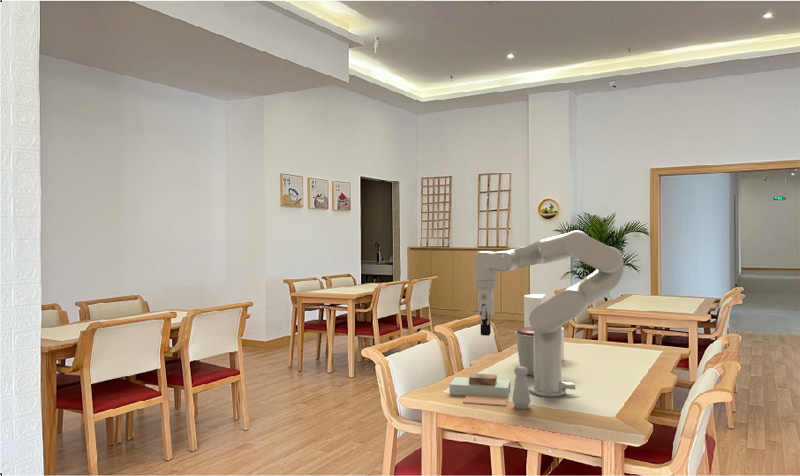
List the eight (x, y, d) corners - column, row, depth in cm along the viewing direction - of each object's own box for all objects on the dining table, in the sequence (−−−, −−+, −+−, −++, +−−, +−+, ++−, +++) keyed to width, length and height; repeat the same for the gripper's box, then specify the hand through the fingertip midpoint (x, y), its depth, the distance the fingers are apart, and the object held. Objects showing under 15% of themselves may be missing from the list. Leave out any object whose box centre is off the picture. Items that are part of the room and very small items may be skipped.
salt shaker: (533, 409, 182) (533, 368, 182) (517, 410, 181) (517, 369, 181) (524, 403, 188) (524, 364, 188) (509, 405, 186) (508, 365, 186)
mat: (507, 398, 194) (507, 397, 194) (505, 406, 186) (505, 404, 186) (466, 395, 198) (466, 394, 198) (462, 403, 189) (462, 401, 189)
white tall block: (521, 360, 252) (521, 297, 252) (527, 353, 268) (527, 293, 268) (562, 363, 246) (561, 298, 246) (565, 355, 262) (565, 294, 262)
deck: (510, 389, 205) (510, 380, 205) (507, 398, 194) (507, 388, 194) (454, 386, 210) (454, 376, 210) (449, 394, 200) (449, 384, 200)
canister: (522, 366, 241) (522, 316, 241) (566, 371, 232) (565, 319, 232) (508, 375, 226) (508, 322, 225) (554, 381, 216) (554, 326, 216)
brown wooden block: (496, 381, 203) (496, 374, 203) (495, 385, 198) (494, 378, 198) (471, 379, 206) (471, 373, 206) (469, 384, 200) (469, 377, 200)
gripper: (493, 286, 201) (493, 338, 201) (497, 283, 217) (498, 331, 217) (472, 286, 203) (472, 338, 203) (478, 282, 219) (478, 330, 219)
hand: (485, 334), depth 210 cm, fingers open, 2 cm apart
